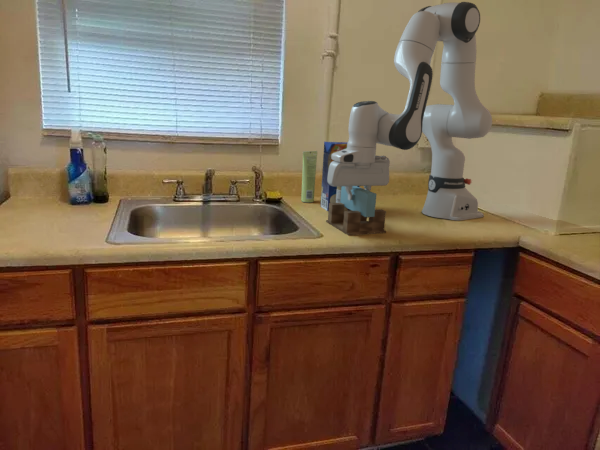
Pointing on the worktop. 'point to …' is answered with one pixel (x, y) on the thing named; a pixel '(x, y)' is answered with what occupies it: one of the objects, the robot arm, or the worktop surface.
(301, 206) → the worktop surface
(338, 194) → the sprinkles bottle
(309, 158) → the tube
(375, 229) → the rack
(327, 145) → the juice carton
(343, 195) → the slat
